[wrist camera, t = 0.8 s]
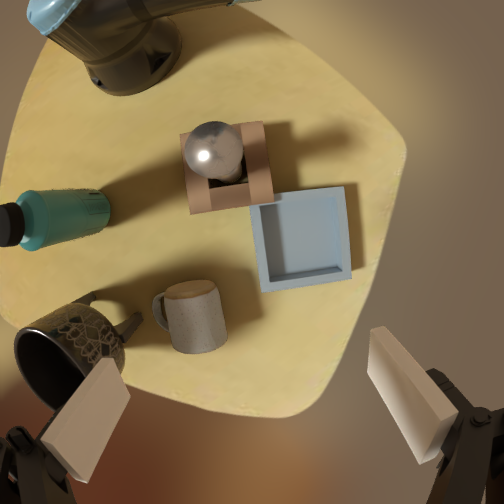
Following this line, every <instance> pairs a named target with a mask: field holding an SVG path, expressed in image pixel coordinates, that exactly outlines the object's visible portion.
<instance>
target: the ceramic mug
mask: <svg viewBox="0 0 504 504" xmlns="http://www.w3.org/2000/svg"><path fill="white" fill-rule="evenodd" d="M162 296H164V306H165V311H166V315H167V320H168V322H167V321H166V320H165V319H164V318H163V315H162V312H161V301H160V299H161V297H162ZM152 311H153V315H154V318H155V320H156V322H157V323H158V324H159V326H160V327H161V328H163V329H164V330H165V331H167V332H169V333H170V336H171V342H172V345H173V348H174V349H175V350H176V351H178V352H181V353H185V354H200V353H206V352H210V351H213V350H216V349H217V348H219V347H221V346H222V345H223V344H224V343H225V342H226V341H227V338H228V335H227V330H226V325H225V320H224V315H223V311H222V306H221V300H220V295H219V292H218V289H217V286H216V285H215V283H213V282H212V281H210V280H192V281H186V282H182V283H178V284H175V285H173V286H170V287H169V288H168V289H167V290H166V291H165V292H162V293H160V294H158V295H157V296H155V298H154V299H153V302H152Z"/></svg>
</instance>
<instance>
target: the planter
mask: <svg viewBox="0 0 504 504" xmlns="http://www.w3.org/2000/svg"><path fill="white" fill-rule="evenodd" d="M95 298H96V297H95V295H94V294H93V293H92V292H90V293H88V294H86V295H84V296H83V297H81V298H79V299H77V300H75V301H73V302H71V303H70V304H67V305H64V306H62V307H60V308H58V309H57V310H55V311H53V312H51V313H49V314H47V315H46V316H44V317H42V318H40V319H38V320H36V321H35V322H33V323H31V324H29V325H28V326H26V327H24V328H22V329H21V330H19V332H18V333H17V335H16V337H15V341H14V353H15V359H16V362H17V365H18V368H19V370H20V372H21V374H22V376H23V378H24V380H25V382H26V383H27V385H28V386H29V387H30V389H31V390H32V392H33V393H34V394H35V395H36V396H37V397H38V398H39V399H40V400H41V402H43V403H44V404H45V405H46V406H47V407H48V408H50V409H51V410H52V411H54V412H56V410H57V409H58V408H60V407H61V406H62V405H64V404H66V403H67V402H68V400H69V399H70V398H71V397H72V395H73V394H74V393H75V391H76V390H77V389H78V387H79V386H80V385H81V384H82V382H83V381H84V380H85V378H86V377H87V376H88V375H89V373H90V372H91V371H92V370H93V368H94V367H95V366H96V365H97V363H98V362H99V361H100V360H101V358H113V359H114V361H115V363H116V366H117V368H118V370H119V373H120V375H121V373H122V371H123V369H124V365H125V351H124V346H123V343H126V342H127V341H128V339H129V338H130V337H131V335H132V334H133V333H134V331H135V330H136V329H137V327H138V326H139V325H140V324H141V322H142V321H143V317H142V315H141V312H139V313H134V314H133V315H132V316H131V317H130V318H128V319H127V320H125V321H124V322H122V323H120V324H118V325H116V326H113V325H112V324H111V322H110V321H109V320H108V319H107V318H106V317H105V316H104V315H102V314H101V313H100V312H99V311H97V310H96V309H94V308H92V307H90V303H91V302H92V301H93V300H94V299H95Z"/></svg>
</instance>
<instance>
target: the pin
mask: <svg viewBox="0 0 504 504" xmlns="http://www.w3.org/2000/svg"><path fill="white" fill-rule="evenodd" d="M184 154H185V159H186V161H187V163H188V165H189V167H190V168H191V169H192V170H193V171H194V172H195V173H197V174H199V175H201V176H203V177H206V178H211V179H219V180H220V181H222V182H224V183H233V182H235V181H237V180H238V179H239V178H240V176H241V174H242V166H241V160H242V157H243V144H242V140H241V137H240V135H239V133H238V132H237V131H236V130H235V129H234V128H233V127H232V126H230V125H228V124H226V123H223V122H218V121H212V122H207V123H204V124H202V125H200V126H198V127H197V128H195V129H194V130H193V131H192V132H191V133H190V135H189V136H188V138H187V140H186V143H185V149H184Z"/></svg>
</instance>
